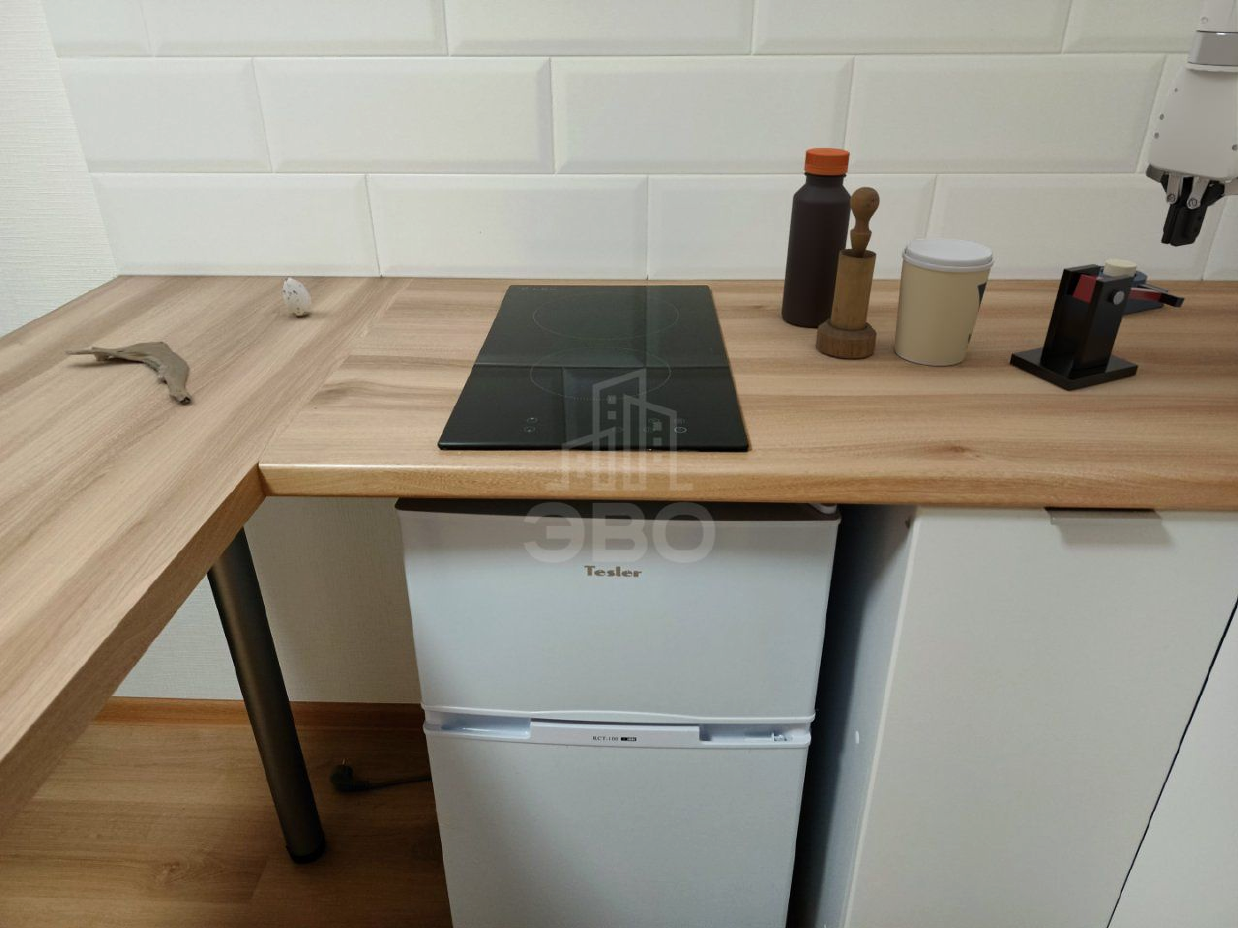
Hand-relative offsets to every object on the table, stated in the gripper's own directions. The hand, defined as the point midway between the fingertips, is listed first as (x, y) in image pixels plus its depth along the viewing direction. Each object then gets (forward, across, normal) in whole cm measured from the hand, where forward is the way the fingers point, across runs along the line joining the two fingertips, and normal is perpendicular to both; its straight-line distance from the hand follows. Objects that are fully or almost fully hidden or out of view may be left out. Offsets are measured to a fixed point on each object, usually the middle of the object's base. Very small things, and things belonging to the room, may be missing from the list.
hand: (1177, 243), depth 91 cm
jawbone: (+11, +38, +105) cm, 112 cm away
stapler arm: (+6, 0, +6) cm, 8 cm away
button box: (+13, +14, -12) cm, 23 cm away
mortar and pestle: (+12, +15, +30) cm, 36 cm away
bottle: (+12, +25, +28) cm, 40 cm away
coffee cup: (+12, +10, +22) cm, 27 cm away
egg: (+11, +52, +86) cm, 101 cm away
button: (+9, +14, -12) cm, 21 cm away
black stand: (+12, 0, +11) cm, 17 cm away
